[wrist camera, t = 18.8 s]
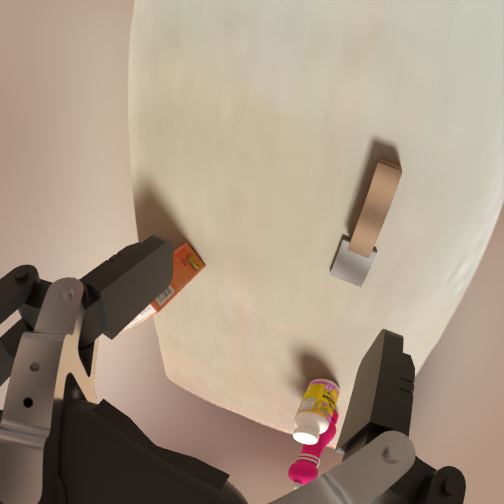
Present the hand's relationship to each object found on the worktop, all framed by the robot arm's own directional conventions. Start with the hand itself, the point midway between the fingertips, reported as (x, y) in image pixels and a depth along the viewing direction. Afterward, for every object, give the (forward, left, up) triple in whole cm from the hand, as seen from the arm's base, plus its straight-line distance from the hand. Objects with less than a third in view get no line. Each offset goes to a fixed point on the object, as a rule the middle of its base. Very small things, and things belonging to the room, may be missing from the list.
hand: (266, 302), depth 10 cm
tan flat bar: (+9, +4, -30) cm, 32 cm away
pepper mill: (+54, +14, -30) cm, 63 cm away
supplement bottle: (+44, +10, -30) cm, 54 cm away
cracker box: (+24, -20, -23) cm, 39 cm away
